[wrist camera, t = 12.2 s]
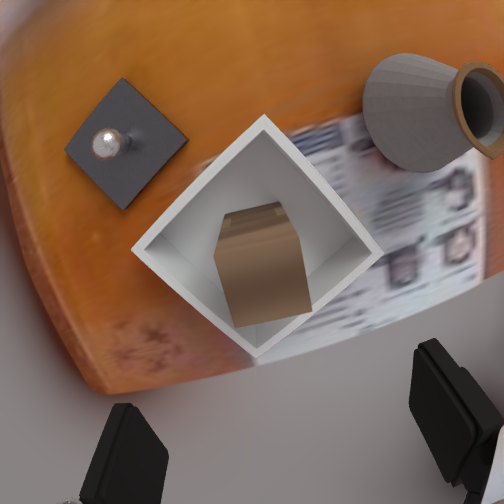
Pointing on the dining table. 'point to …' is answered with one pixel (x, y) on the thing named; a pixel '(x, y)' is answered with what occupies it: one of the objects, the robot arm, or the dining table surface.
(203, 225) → the grey bin
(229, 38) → the dining table surface
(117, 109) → the stud plate
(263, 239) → the walnut post
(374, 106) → the coffee pot
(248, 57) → the dining table surface
